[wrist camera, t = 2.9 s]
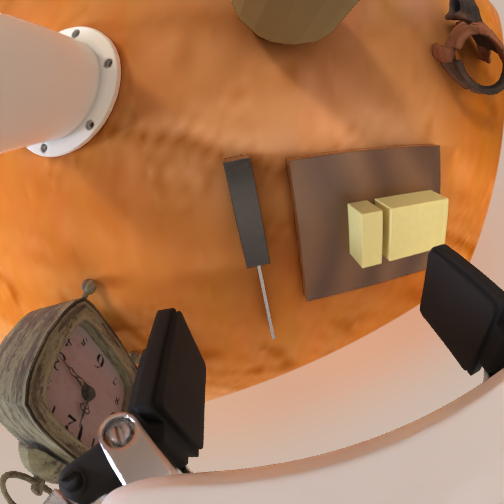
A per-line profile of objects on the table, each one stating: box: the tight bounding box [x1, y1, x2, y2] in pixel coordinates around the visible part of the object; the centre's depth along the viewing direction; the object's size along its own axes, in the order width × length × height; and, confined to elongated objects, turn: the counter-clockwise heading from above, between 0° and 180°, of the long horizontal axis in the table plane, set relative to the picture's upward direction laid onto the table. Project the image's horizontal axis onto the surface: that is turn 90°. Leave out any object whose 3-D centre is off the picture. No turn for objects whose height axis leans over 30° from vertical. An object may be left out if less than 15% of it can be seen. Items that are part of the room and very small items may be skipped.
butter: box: [375, 190, 449, 261], centre depth 23 cm, size 7×5×3 cm
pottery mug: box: [432, 0, 504, 95], centre depth 14 cm, size 12×10×8 cm
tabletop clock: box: [0, 279, 141, 504], centre depth 17 cm, size 14×9×25 cm, turn 14°
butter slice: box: [347, 200, 383, 268], centre depth 23 cm, size 2×5×3 cm, turn 11°
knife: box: [223, 154, 275, 339], centre depth 25 cm, size 2×18×3 cm, turn 11°
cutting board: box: [286, 144, 440, 301], centre depth 25 cm, size 16×14×1 cm
